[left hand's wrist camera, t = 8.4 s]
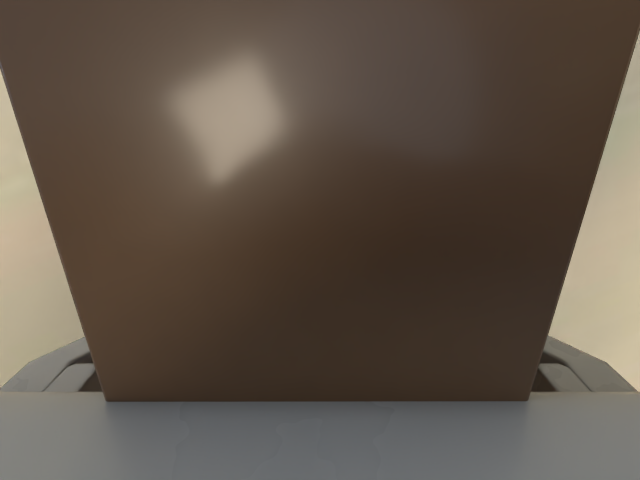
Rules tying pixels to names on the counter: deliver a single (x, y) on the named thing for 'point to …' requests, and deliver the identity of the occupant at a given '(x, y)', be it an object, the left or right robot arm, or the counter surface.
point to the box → (315, 186)
